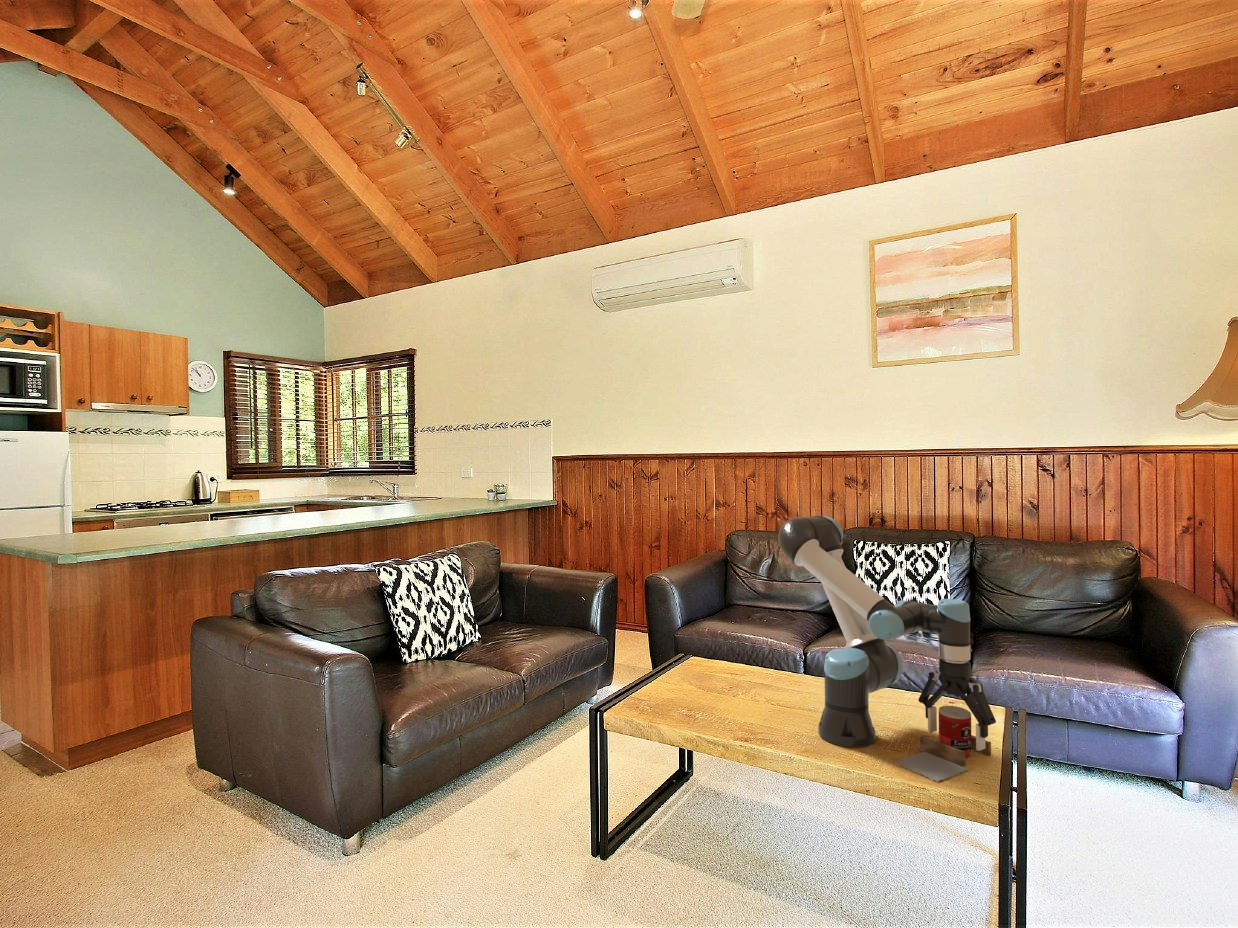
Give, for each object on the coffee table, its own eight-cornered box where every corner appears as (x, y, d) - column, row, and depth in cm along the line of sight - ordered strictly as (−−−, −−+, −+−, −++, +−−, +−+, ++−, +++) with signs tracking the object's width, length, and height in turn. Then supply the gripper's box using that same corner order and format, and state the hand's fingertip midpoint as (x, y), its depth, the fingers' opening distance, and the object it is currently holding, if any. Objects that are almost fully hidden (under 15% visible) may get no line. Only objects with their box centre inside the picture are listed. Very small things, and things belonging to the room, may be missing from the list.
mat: (894, 763, 172) (894, 761, 172) (924, 752, 178) (924, 751, 178) (937, 782, 162) (937, 780, 162) (967, 770, 168) (967, 768, 168)
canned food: (954, 760, 173) (954, 717, 173) (932, 747, 181) (931, 706, 181) (978, 756, 175) (978, 714, 175) (955, 744, 183) (955, 704, 183)
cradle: (919, 749, 180) (919, 736, 180) (948, 739, 186) (948, 726, 186) (962, 766, 170) (962, 752, 170) (991, 755, 176) (991, 741, 176)
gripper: (1010, 668, 169) (1011, 753, 169) (921, 646, 191) (922, 721, 191) (992, 673, 165) (994, 760, 165) (904, 650, 187) (905, 727, 187)
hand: (955, 739), depth 178 cm, fingers open, 13 cm apart
